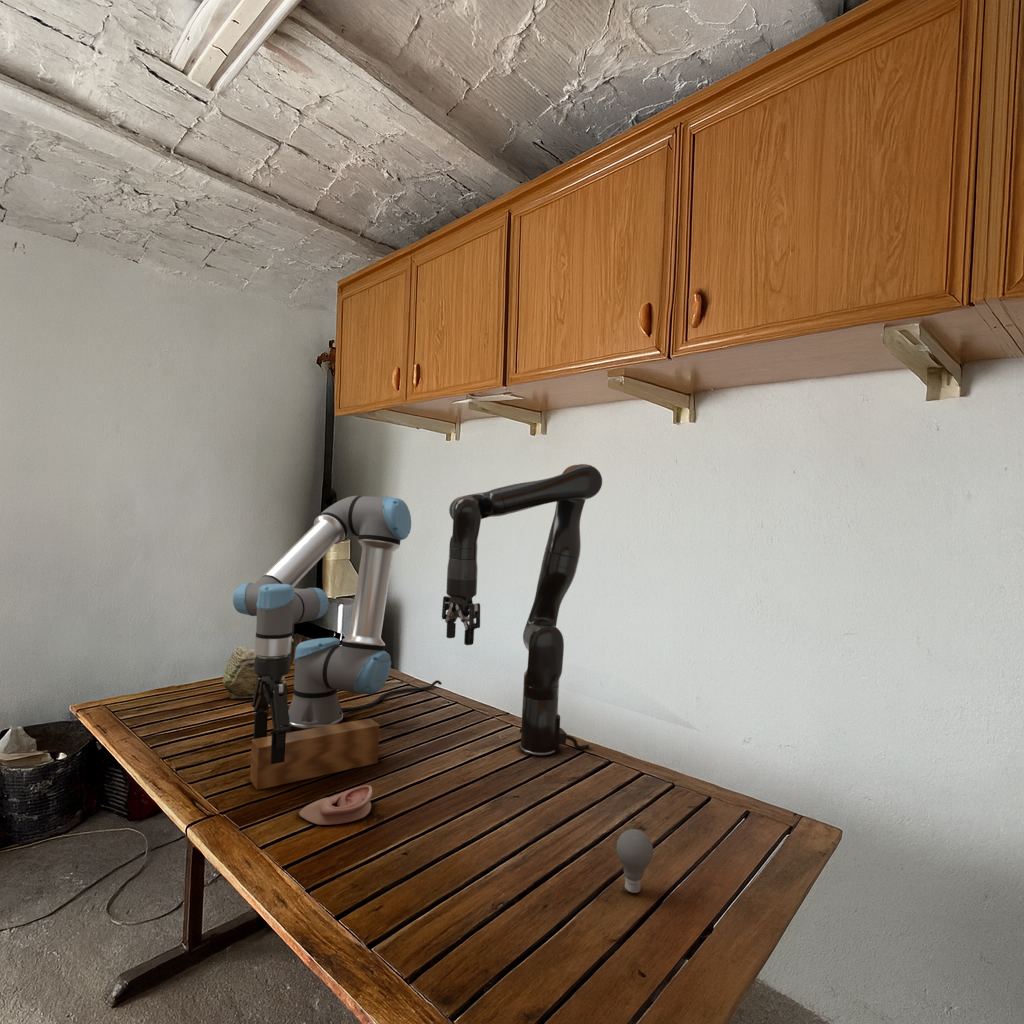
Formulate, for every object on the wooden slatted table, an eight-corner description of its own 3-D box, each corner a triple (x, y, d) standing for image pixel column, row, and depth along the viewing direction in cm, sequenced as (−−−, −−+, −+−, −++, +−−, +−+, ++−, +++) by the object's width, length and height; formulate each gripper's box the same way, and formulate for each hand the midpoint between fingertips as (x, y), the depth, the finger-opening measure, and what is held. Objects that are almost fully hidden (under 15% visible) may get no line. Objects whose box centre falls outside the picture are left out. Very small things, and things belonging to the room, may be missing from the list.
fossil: (218, 695, 195) (220, 647, 195) (278, 685, 208) (279, 640, 207) (228, 703, 189) (230, 653, 188) (289, 692, 201) (290, 645, 201)
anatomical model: (291, 800, 123) (320, 775, 134) (290, 820, 123) (320, 794, 134) (354, 810, 120) (379, 784, 132) (353, 830, 121) (378, 803, 132)
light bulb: (610, 879, 108) (613, 822, 108) (644, 879, 109) (647, 822, 109) (619, 902, 102) (622, 840, 102) (655, 901, 103) (658, 840, 103)
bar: (256, 790, 135) (258, 747, 135) (250, 780, 140) (251, 739, 140) (378, 762, 152) (379, 725, 152) (368, 754, 156) (369, 718, 156)
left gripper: (308, 666, 131) (304, 768, 131) (274, 642, 151) (269, 731, 151) (271, 670, 127) (266, 776, 127) (240, 645, 147) (236, 736, 147)
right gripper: (490, 579, 154) (487, 645, 154) (460, 572, 165) (457, 634, 166) (464, 580, 150) (461, 649, 150) (434, 573, 161) (432, 637, 161)
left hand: (268, 751), depth 139 cm, fingers open, 13 cm apart
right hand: (459, 641), depth 158 cm, fingers open, 8 cm apart
